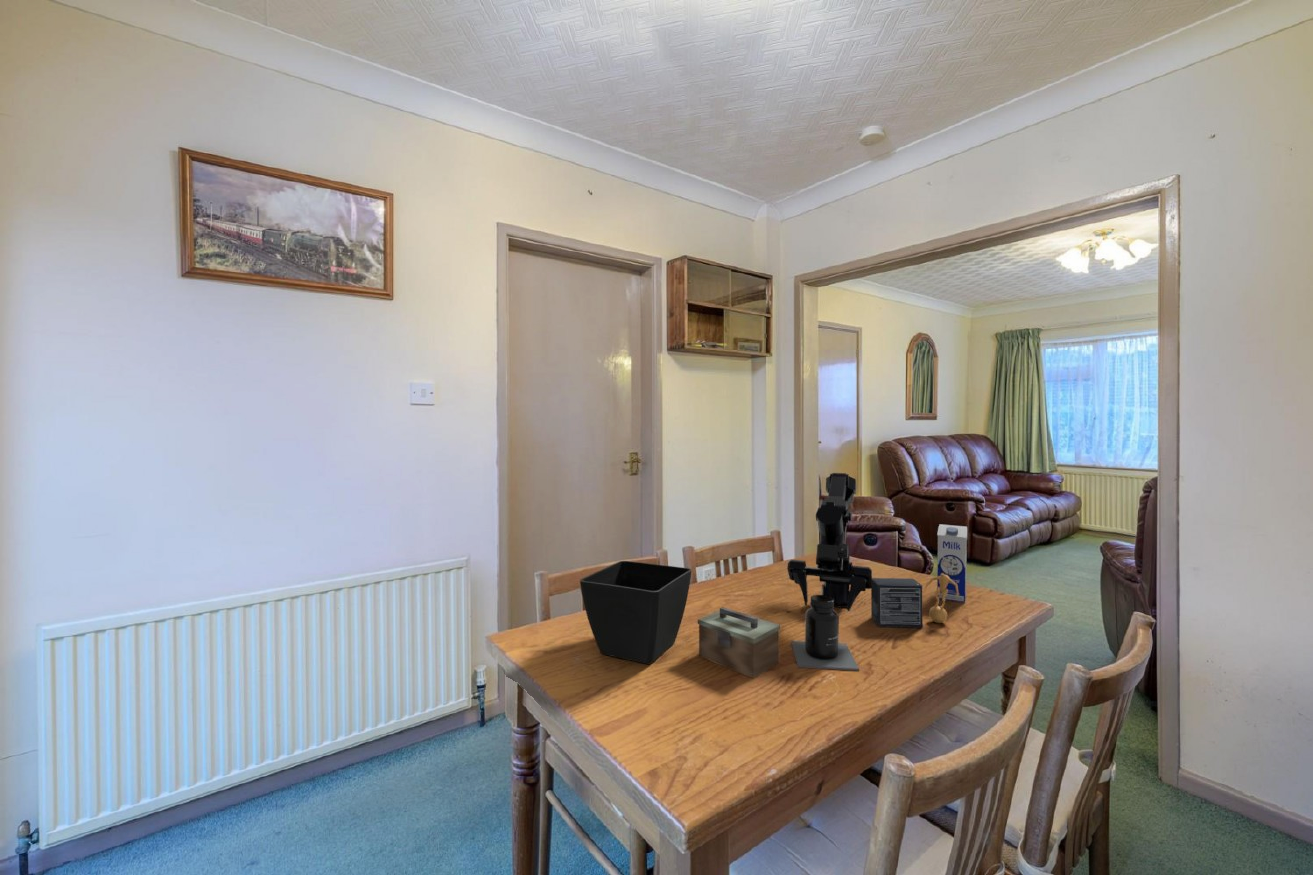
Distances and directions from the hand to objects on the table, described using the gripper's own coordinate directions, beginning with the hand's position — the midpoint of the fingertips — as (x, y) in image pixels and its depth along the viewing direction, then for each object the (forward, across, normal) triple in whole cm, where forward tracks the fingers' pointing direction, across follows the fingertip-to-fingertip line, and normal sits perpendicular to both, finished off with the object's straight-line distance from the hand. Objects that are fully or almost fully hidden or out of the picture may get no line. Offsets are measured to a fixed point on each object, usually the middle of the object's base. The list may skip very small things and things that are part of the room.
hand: (826, 607), depth 120 cm
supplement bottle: (+11, 0, 0) cm, 11 cm away
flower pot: (+19, -38, -8) cm, 44 cm away
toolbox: (+17, -16, -6) cm, 24 cm away
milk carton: (-25, +30, +37) cm, 54 cm away
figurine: (-10, +25, +22) cm, 35 cm away
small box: (-7, +15, +19) cm, 25 cm away
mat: (+11, 0, 0) cm, 11 cm away
